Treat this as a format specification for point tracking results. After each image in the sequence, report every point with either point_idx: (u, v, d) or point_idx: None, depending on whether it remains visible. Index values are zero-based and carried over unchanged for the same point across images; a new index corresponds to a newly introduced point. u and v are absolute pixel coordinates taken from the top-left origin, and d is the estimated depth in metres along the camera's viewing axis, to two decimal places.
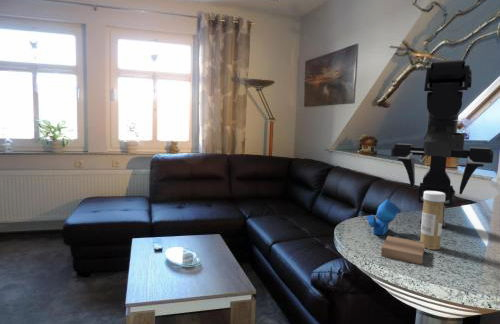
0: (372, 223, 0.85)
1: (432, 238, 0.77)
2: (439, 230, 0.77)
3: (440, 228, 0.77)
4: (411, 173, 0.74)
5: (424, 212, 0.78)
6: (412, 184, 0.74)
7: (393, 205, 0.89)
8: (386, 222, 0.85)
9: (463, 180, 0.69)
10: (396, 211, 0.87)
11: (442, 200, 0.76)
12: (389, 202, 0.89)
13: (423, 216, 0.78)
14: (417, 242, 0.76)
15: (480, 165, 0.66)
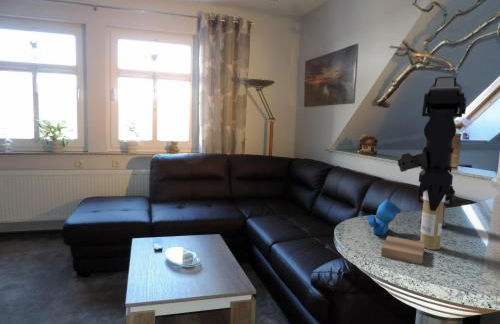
0: (372, 223, 0.85)
1: (432, 238, 0.77)
2: (439, 230, 0.77)
3: (440, 228, 0.77)
4: None
5: (424, 212, 0.78)
6: None
7: (393, 205, 0.89)
8: (386, 222, 0.85)
9: None
10: (396, 211, 0.87)
11: (442, 200, 0.75)
12: (389, 202, 0.89)
13: (423, 216, 0.78)
14: (417, 242, 0.76)
15: (420, 182, 0.74)
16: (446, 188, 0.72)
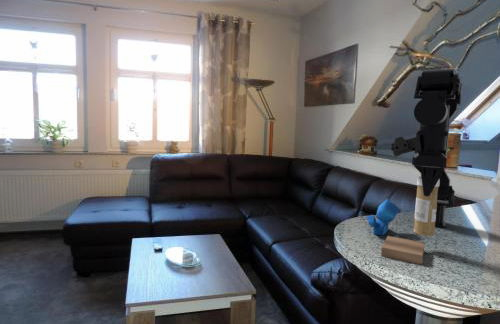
0: (372, 223, 0.85)
1: (426, 224, 0.75)
2: (433, 216, 0.75)
3: (434, 214, 0.75)
4: None
5: (418, 198, 0.76)
6: None
7: (393, 205, 0.89)
8: (386, 222, 0.85)
9: (422, 181, 0.74)
10: (396, 211, 0.87)
11: (436, 185, 0.74)
12: (389, 202, 0.89)
13: (417, 202, 0.76)
14: (417, 242, 0.76)
15: (414, 166, 0.72)
16: (440, 172, 0.70)
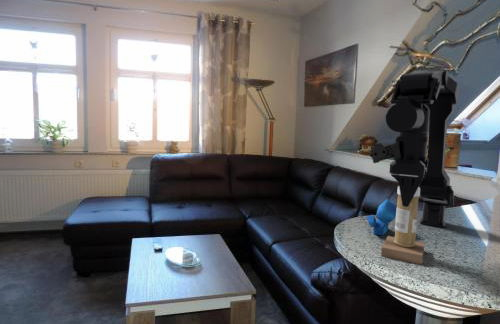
0: (372, 223, 0.85)
1: (407, 235, 0.72)
2: (413, 227, 0.72)
3: (414, 224, 0.72)
4: None
5: (398, 208, 0.73)
6: None
7: (393, 205, 0.89)
8: (386, 222, 0.85)
9: None
10: None
11: (416, 195, 0.71)
12: (389, 202, 0.89)
13: (397, 212, 0.74)
14: (417, 242, 0.76)
15: (391, 175, 0.68)
16: (418, 181, 0.66)
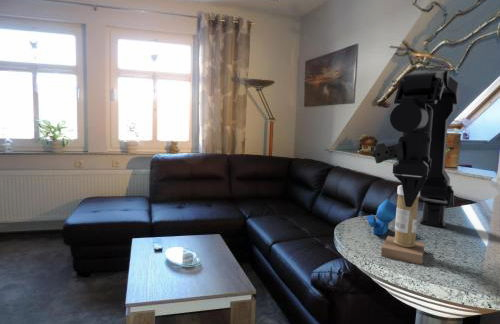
0: (372, 223, 0.85)
1: (407, 235, 0.72)
2: (413, 227, 0.72)
3: (414, 224, 0.72)
4: None
5: (398, 208, 0.73)
6: None
7: (393, 205, 0.89)
8: (386, 222, 0.85)
9: None
10: None
11: None
12: (389, 202, 0.89)
13: (397, 212, 0.74)
14: (417, 242, 0.76)
15: (394, 175, 0.67)
16: (422, 182, 0.65)
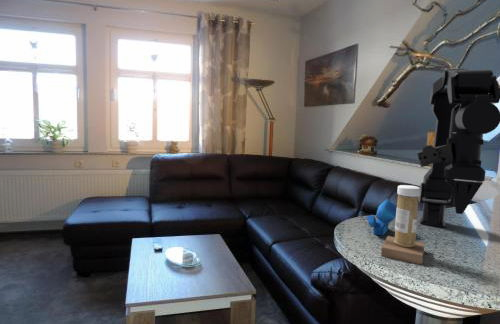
0: (372, 223, 0.85)
1: (407, 235, 0.72)
2: (413, 227, 0.72)
3: (414, 224, 0.72)
4: None
5: (398, 208, 0.73)
6: None
7: (393, 205, 0.89)
8: (386, 222, 0.85)
9: (454, 197, 0.64)
10: None
11: (416, 195, 0.71)
12: (389, 202, 0.89)
13: (397, 212, 0.74)
14: (417, 242, 0.76)
15: (445, 180, 0.63)
16: (476, 187, 0.61)
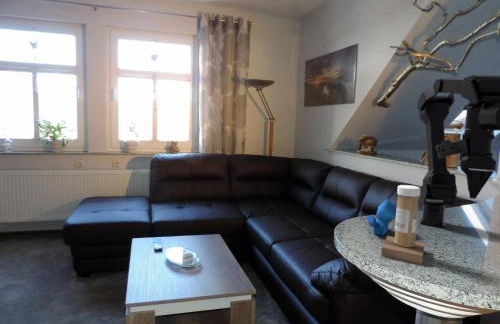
0: (372, 223, 0.85)
1: (407, 235, 0.72)
2: (413, 227, 0.72)
3: (415, 224, 0.72)
4: None
5: (398, 208, 0.73)
6: None
7: (393, 205, 0.89)
8: (386, 222, 0.85)
9: (468, 184, 0.75)
10: None
11: (416, 195, 0.71)
12: (389, 202, 0.89)
13: (397, 212, 0.74)
14: (417, 242, 0.76)
15: (461, 169, 0.73)
16: (488, 175, 0.72)
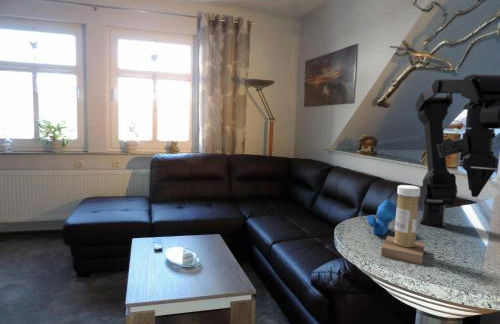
0: (372, 223, 0.85)
1: (407, 235, 0.72)
2: (413, 227, 0.72)
3: (414, 224, 0.72)
4: (467, 175, 0.84)
5: (398, 208, 0.73)
6: (468, 185, 0.84)
7: (393, 205, 0.89)
8: (386, 222, 0.85)
9: (470, 182, 0.75)
10: None
11: (416, 195, 0.71)
12: (389, 202, 0.89)
13: (397, 212, 0.74)
14: (417, 242, 0.76)
15: (463, 167, 0.74)
16: (490, 173, 0.72)
